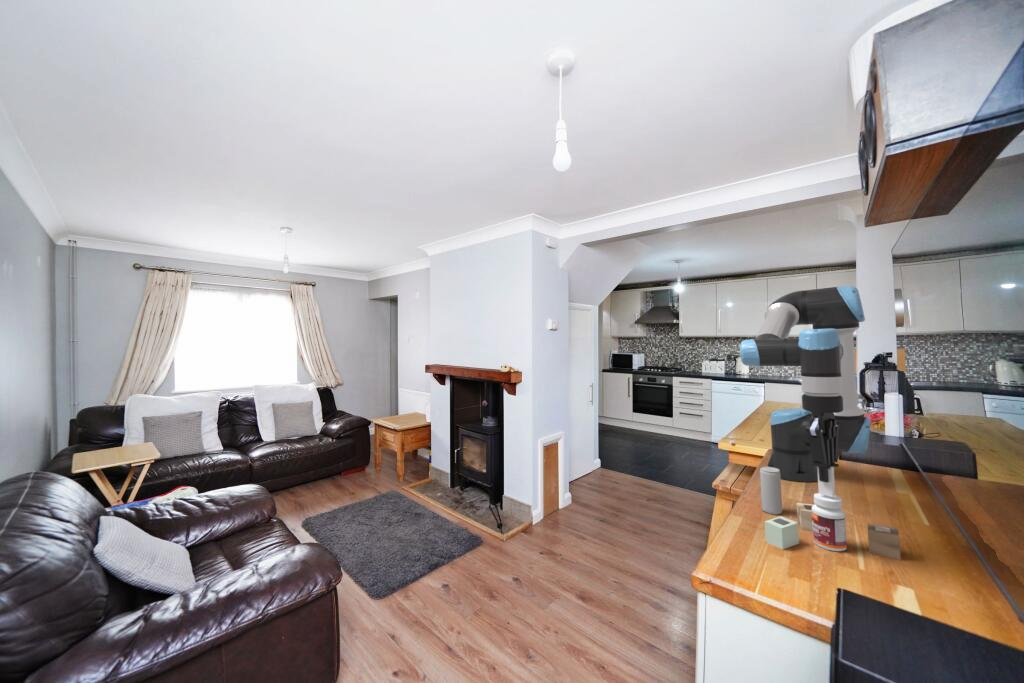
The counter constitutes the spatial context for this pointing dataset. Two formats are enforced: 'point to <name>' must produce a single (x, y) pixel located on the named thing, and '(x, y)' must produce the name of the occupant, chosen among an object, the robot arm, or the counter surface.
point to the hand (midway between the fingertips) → (826, 494)
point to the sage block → (781, 532)
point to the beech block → (804, 516)
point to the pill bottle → (828, 523)
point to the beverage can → (771, 490)
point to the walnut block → (884, 541)
